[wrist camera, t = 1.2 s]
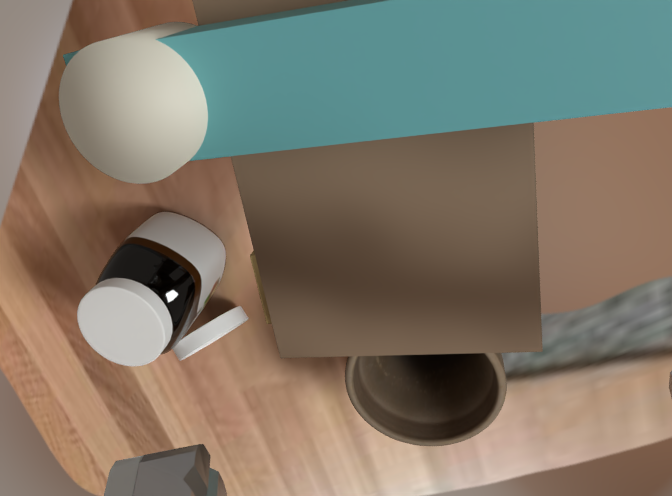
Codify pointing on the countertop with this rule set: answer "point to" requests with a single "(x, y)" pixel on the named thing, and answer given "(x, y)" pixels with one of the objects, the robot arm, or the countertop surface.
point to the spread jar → (157, 293)
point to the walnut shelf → (393, 236)
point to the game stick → (358, 77)
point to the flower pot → (427, 394)
